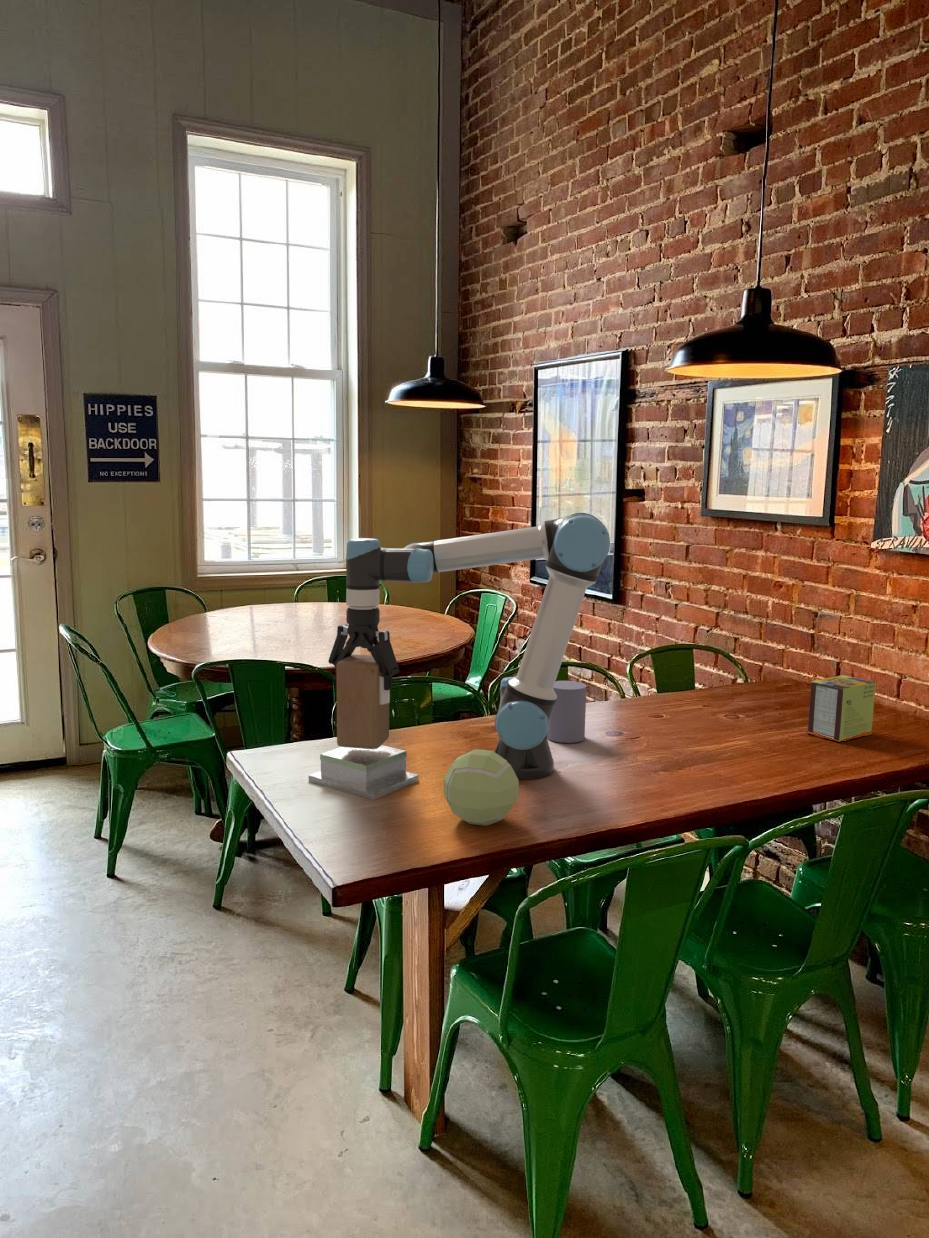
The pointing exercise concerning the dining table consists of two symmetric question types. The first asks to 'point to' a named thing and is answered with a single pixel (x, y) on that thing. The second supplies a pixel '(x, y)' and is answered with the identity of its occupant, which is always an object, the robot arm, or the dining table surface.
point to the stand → (364, 771)
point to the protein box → (841, 707)
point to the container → (568, 713)
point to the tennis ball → (481, 787)
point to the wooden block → (360, 704)
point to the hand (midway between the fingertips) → (363, 699)
